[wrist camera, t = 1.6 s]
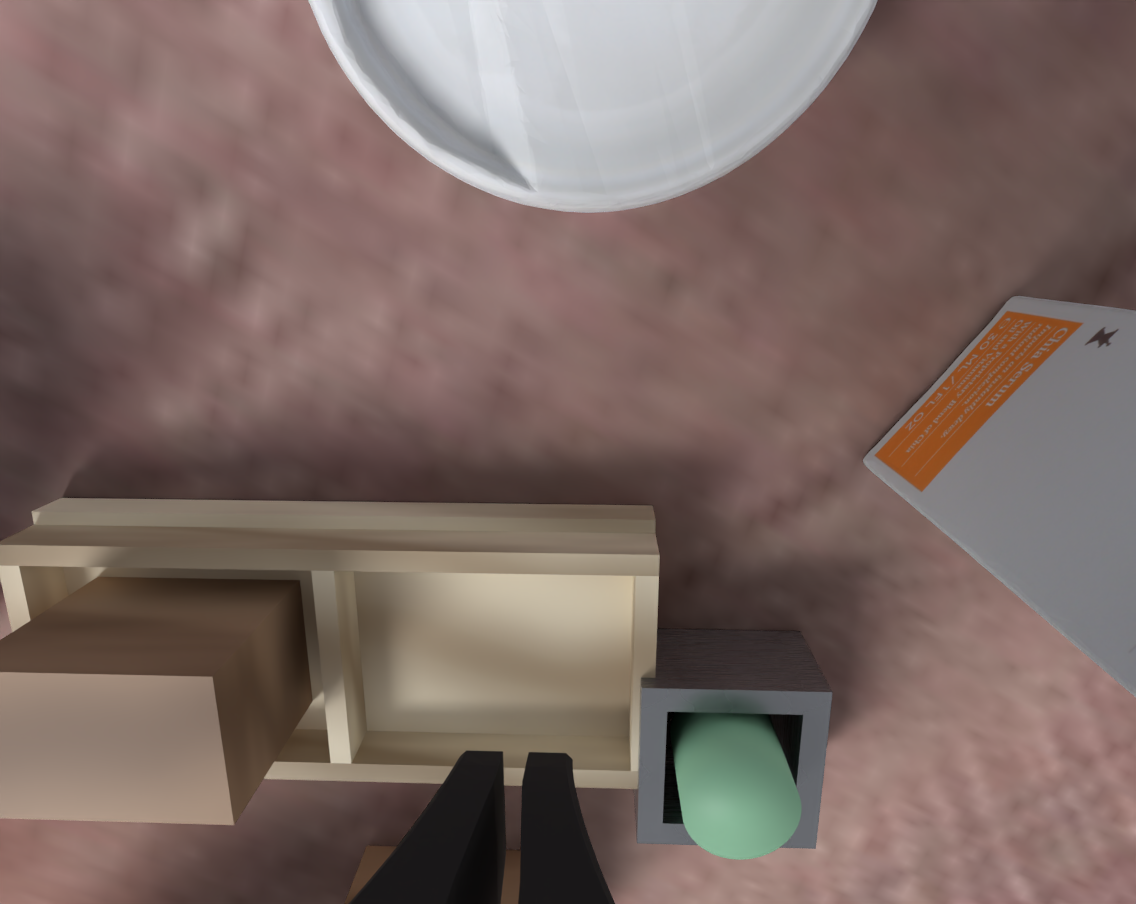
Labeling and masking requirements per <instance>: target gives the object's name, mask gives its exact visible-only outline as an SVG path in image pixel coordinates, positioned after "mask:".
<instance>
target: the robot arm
mask: <svg viewBox="0 0 1136 904" xmlns="http://www.w3.org/2000/svg"><path fill="white" fill-rule="evenodd" d="M505 859H506V835H505V799H504V763H503V751H469V750H466V751H465V752H464V753H463V754H462V755H461V756H460V757H459V758H458V760H457V762H456V763H455V765H454V767H453V768H452V770H451V772H450V773H449V775H448V776H447V778H446V779H445V781H444V782H443V784H442V785H441V787H440V788H439V790H438V791H437V793H436V794H435V796H434V797H433V799H432V800H431V802H430V803H429V804H428V806H427V807H426V809H425V810H424V811H423V813H422V814H421V815H420V817H419V818H418V819H417V821H416V822H415V823H414V825H413V826H412V827H411V829H410V830H409V831H408V833H407V834H406V835H405V837H404V838H403V839H402V841H401V842H400V843H399V845H398V846H397V847H396V849H395V850H394V851H393V852H392V853H391V855H390V856H389V857H388V858H387V859H386V861H385V862H384V863H383V864H382V865H381V867H380V868H379V869H378V870H377V871H376V872H375V874H374V875H373V876H372V877H371V878H370V880H369V881H368V882H367V883H366V884H365V886H364V887H363V888H362V889H361V890H360V891H359V892H358V894H357V895H356V896H355V897H354V898H353V899H352V900H351V901H350V902H349V903H348V904H501V896H502V887H503V878H504V868H505ZM518 904H615V903H614V900H613V898H612V896H611V893H610V891H609V889H608V886H607V884H606V882H605V879H604V877H603V874H602V872H601V869H600V867H599V864H598V862H597V859H596V856H595V853H594V850H593V847H592V845H591V842H590V839H589V836H588V833H587V830H586V827H585V824H584V820H583V817H582V814H581V810H580V806H579V802H578V798H577V793H576V788H575V783H574V776H573V759H572V758H571V757H570V756H569V755H568V754H567V753H547V752H529V753H528V757H527V762H526V766H525V771H524V776H523V780H522V813H521V858H520V887H519V899H518Z"/></svg>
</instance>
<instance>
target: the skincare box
mask: <svg viewBox="0 0 1136 904" xmlns="http://www.w3.org/2000/svg"><path fill="white" fill-rule="evenodd" d="M863 463H864V464H865V466H866V467H867V468H868V469H869V470H871V471H872V472H873V473H874V474H875V475H876V476H877V477H879V478H880V479H881V480H882V481H883V482H885V483H886V484H887V485H888V486H889V487H890V488H892V489H893V490H894V491H895V492H896V493H898V494H899V495H900V496H901V497H902V498H904V499H905V500H906V501H907V502H908V503H910V504H911V505H912V506H913V507H914V508H915V509H917V510H918V511H919V512H920V513H921V514H923V515H924V516H925V517H926V518H927V519H929V520H930V521H931V522H932V523H933V524H934V525H936V526H937V527H938V528H939V529H940V530H941V531H943V532H944V533H945V534H946V535H947V536H948V537H950V538H951V539H952V540H953V541H954V542H955V543H957V544H958V545H959V546H960V547H961V548H962V549H964V550H965V551H966V552H967V553H968V554H969V555H971V556H972V557H973V558H974V559H975V560H976V561H977V562H978V563H980V564H981V565H982V566H983V567H984V568H986V569H987V570H988V571H989V572H990V573H991V574H993V575H994V576H995V577H996V578H997V579H999V580H1000V581H1001V582H1002V583H1003V584H1004V585H1005V586H1007V587H1008V588H1009V589H1010V590H1011V591H1012V592H1013V593H1015V594H1016V595H1017V596H1018V597H1019V598H1020V599H1022V600H1023V601H1024V602H1025V603H1026V604H1027V605H1029V606H1030V607H1031V608H1032V609H1033V610H1034V611H1036V612H1037V613H1038V614H1039V615H1040V616H1041V617H1043V618H1044V619H1045V620H1046V621H1047V622H1048V623H1050V624H1051V625H1052V626H1053V627H1054V628H1055V629H1057V630H1058V631H1059V632H1060V633H1061V634H1062V635H1063V636H1065V637H1066V638H1067V639H1068V640H1069V641H1070V642H1072V643H1073V644H1074V645H1075V646H1076V647H1077V648H1079V649H1080V650H1081V651H1082V652H1083V653H1084V654H1086V655H1087V656H1088V657H1089V658H1090V659H1091V660H1093V661H1094V662H1095V663H1096V664H1097V665H1098V666H1100V667H1101V668H1102V669H1103V670H1104V671H1106V672H1107V673H1108V674H1109V675H1110V676H1111V677H1113V678H1114V679H1115V680H1116V681H1117V682H1118V683H1120V684H1121V685H1122V686H1123V687H1124V688H1125V689H1127V690H1128V691H1129V692H1130V693H1131V694H1132V695H1134V696H1135V697H1136V310H1128V309H1121V308H1113V307H1105V306H1097V305H1089V304H1081V303H1072V302H1063V301H1056V300H1048V299H1039V298H1032V297H1025V296H1013V297H1011V298H1010V299H1009V300H1008V301H1007V302H1006V303H1005V305H1004V306H1003V307H1002V308H1001V310H1000V311H999V312H998V313H997V315H996V316H995V317H994V318H993V319H992V321H991V322H990V323H989V324H988V325H987V326H986V327H985V328H984V329H983V330H982V332H981V333H980V334H979V335H978V336H977V337H976V338H975V339H974V340H973V341H972V342H971V343H970V344H969V345H968V347H967V348H966V349H965V350H964V351H963V352H962V353H961V354H960V356H959V357H958V358H957V359H956V360H955V361H954V362H953V363H952V365H951V366H950V367H949V368H948V369H947V370H946V371H945V372H944V374H943V375H942V376H941V377H940V378H939V379H938V380H937V381H936V382H935V383H934V385H933V386H932V387H931V388H930V389H929V390H928V391H927V392H926V393H925V394H924V395H923V396H922V397H921V398H920V399H919V400H918V401H917V402H916V403H915V404H914V405H913V406H912V408H911V409H910V410H909V411H908V412H907V413H906V414H905V415H904V416H903V417H902V418H901V419H900V420H899V421H898V422H897V423H896V424H895V425H894V426H893V428H892V429H891V430H890V431H889V432H888V433H887V434H886V435H885V436H884V437H883V438H882V439H881V440H880V441H879V442H878V443H877V445H876V446H875V447H874V448H873V449H871V450H870V451H869V453H868V454H867V455H866V456H865V457H864V459H863Z"/></svg>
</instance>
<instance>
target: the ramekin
mask: <svg viewBox="0 0 1136 904" xmlns="http://www.w3.org/2000/svg"><path fill="white" fill-rule="evenodd" d="M308 1H309V3H310V5H311V8H312V10H313V12H314V15H315V17H316V19H317V22H318V24H319V27H320V29H321V31H322V33H323V35H324V37H325V39H326V41H327V43H328V45H329V47H330V49H331V51H332V53H333V55H334V56H335V58H336V60H337V61H338V63H339V65H340V66H341V68H342V69H343V71H344V72H345V74H346V75H347V77H348V78H349V80H350V81H351V83H352V84H353V85H354V87H355V88H356V89H357V90H358V92H359V93H360V94H361V96H362V97H363V98H364V100H365V101H366V102H367V104H368V105H369V106H370V107H371V108H372V109H373V110H374V111H375V113H376V114H377V115H378V116H379V117H380V118H381V119H382V120H383V121H384V122H385V123H386V124H387V126H388V127H389V128H390V129H391V130H393V131H394V132H395V133H396V134H397V135H398V136H399V137H400V138H401V139H402V140H404V141H405V142H406V143H407V144H408V145H410V146H411V147H412V148H413V149H414V150H416V151H417V152H418V153H420V154H421V155H422V156H424V157H425V158H426V159H427V160H429V161H430V162H432V163H433V164H435V165H437V166H438V167H440V168H441V169H443V170H444V171H446V172H448V173H449V174H451V175H453V176H455V177H456V178H458V179H460V180H462V181H464V182H466V183H468V184H470V185H472V186H474V187H476V188H478V189H480V190H483V191H485V192H488V193H490V194H493V195H495V196H497V197H501V198H504V199H507V200H510V201H513V202H516V203H520V204H524V205H528V206H534V207H539V208H544V209H551V210H558V211H565V212H582V213H595V212H612V211H621V210H627V209H633V208H639V207H643V206H648V205H652V204H657V203H660V202H663V201H666V200H669V199H672V198H675V197H679V196H681V195H684V194H686V193H688V192H691V191H693V190H696V189H698V188H700V187H703V186H705V185H707V184H709V183H711V182H712V181H714V180H716V179H718V178H720V177H722V176H724V175H726V174H727V173H729V172H731V171H732V170H734V169H735V168H737V167H738V166H740V165H741V164H743V163H745V162H746V161H748V160H749V159H751V158H752V157H753V156H755V155H756V154H758V153H759V152H760V151H761V150H763V149H764V148H765V147H766V146H768V145H769V144H770V143H771V142H773V141H774V140H775V139H776V138H777V137H778V136H780V135H781V134H782V133H783V132H784V131H785V130H786V129H787V128H788V127H789V126H790V125H791V124H792V123H793V122H794V121H796V120H797V119H798V118H799V117H800V116H801V115H802V114H803V113H804V112H805V111H806V110H807V108H808V107H809V106H810V105H811V104H812V103H813V102H814V101H815V100H816V98H817V97H818V96H819V95H820V94H821V92H822V91H823V90H824V89H825V87H826V86H827V85H828V84H829V83H830V81H831V80H832V78H833V77H834V75H835V74H836V73H837V71H838V70H839V68H840V67H841V66H842V64H843V63H844V61H845V60H846V59H847V57H848V56H849V54H850V52H851V50H852V49H853V47H854V45H855V44H856V42H857V40H858V38H859V37H860V35H861V33H862V32H863V30H864V28H865V26H866V24H867V22H868V20H869V18H870V16H871V14H872V12H873V10H874V8H875V6H876V3H877V1H878V0H308Z"/></svg>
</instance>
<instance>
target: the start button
mask: <svg viewBox="0 0 1136 904" xmlns="http://www.w3.org/2000/svg"><path fill="white" fill-rule="evenodd" d="M670 738H671V745H672V751H673V758H674V765H675V771H676V778H677V785H678V791H679V798H680V805H681V811H682V818H683V823H684V825H685V828H686V830H687V832H688V834H689V835H690V836H691V838H692V839H693V840H694V841H695V842H696V843H697V844H698V845H699V846H700V847H702V848H703V849H705V850H706V851H708V852H710V853H712V854H714V855H717V856H720V857H724V858H729V859H751V858H756V857H761V856H763V855H766V854H769V853H771V852H773V851H775V850H776V849H778V848H779V847H781V846H782V845H783V844H784V843H786V842H787V841H788V840H789V839H790V837H791V836H792V835H793V833H794V832H795V830H796V828H797V826H798V824H799V821H800V817H801V800H800V796H799V793H798V790H797V788H796V785H795V782H794V780H793V777H792V774H791V771H790V769H789V766H788V763H787V761H786V758H785V755H784V753H783V750H782V747H781V744H780V742H779V739H778V736H777V734H776V731H775V728H774V726H773V723H772V720H771V718H770V715H769V714H747V713H704V712H675V714H674V716H673V718H672V721H671V726H670Z"/></svg>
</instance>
